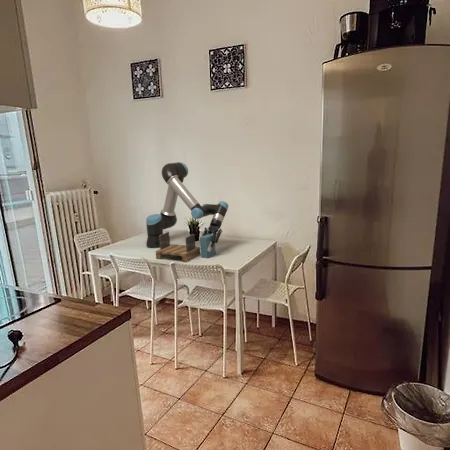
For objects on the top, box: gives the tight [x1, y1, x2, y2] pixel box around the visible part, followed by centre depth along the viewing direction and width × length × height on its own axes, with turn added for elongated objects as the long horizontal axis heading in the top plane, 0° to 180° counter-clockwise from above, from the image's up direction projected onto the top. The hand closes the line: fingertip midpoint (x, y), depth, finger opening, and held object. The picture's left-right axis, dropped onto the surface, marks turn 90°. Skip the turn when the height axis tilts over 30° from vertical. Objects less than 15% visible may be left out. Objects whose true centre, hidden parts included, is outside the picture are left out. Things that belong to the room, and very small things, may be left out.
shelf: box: [155, 231, 201, 263], centre depth 244 cm, size 24×18×16 cm
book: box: [199, 233, 217, 259], centre depth 243 cm, size 5×10×14 cm, turn 149°
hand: (204, 250), depth 240 cm, fingers closed on book, 5 cm apart
